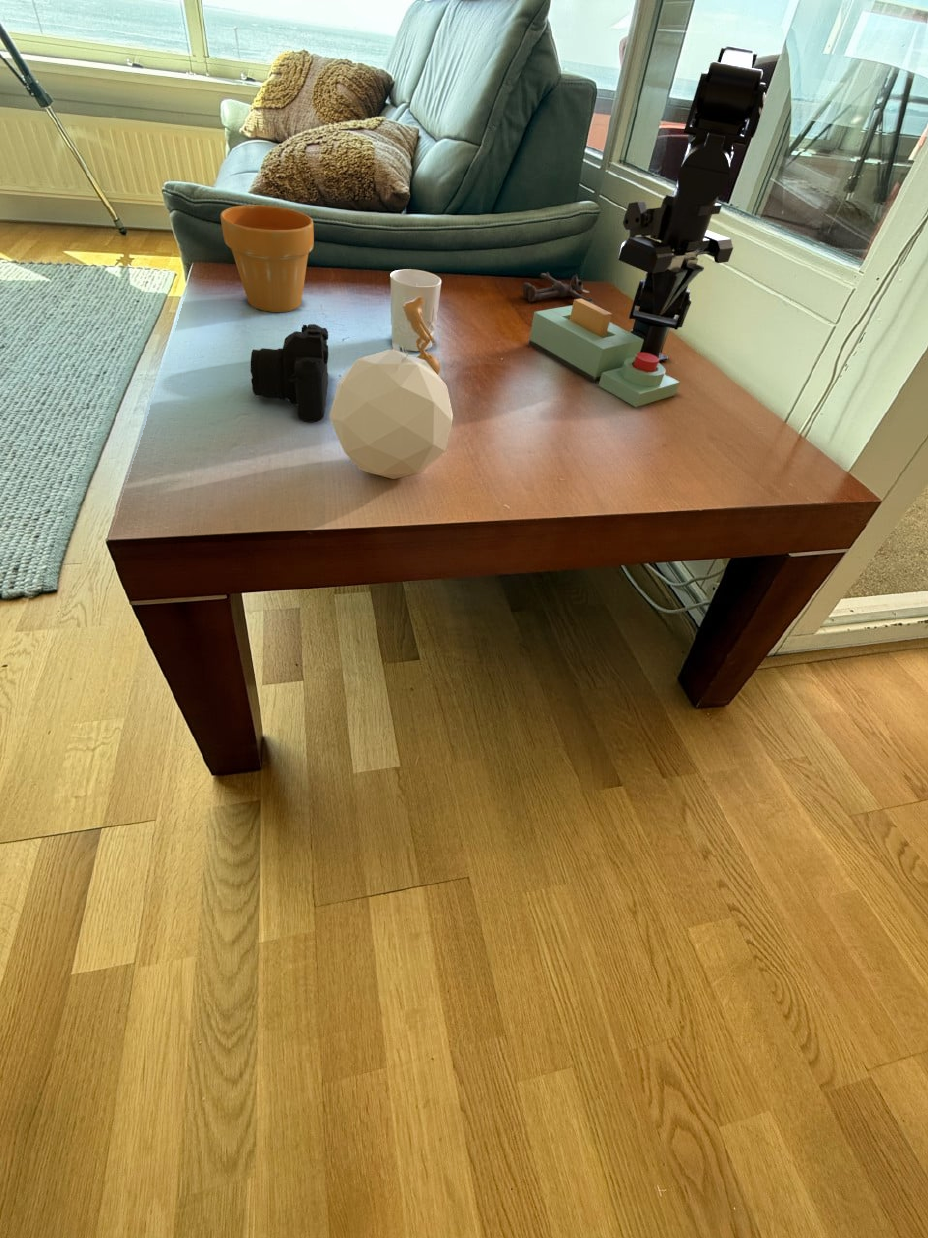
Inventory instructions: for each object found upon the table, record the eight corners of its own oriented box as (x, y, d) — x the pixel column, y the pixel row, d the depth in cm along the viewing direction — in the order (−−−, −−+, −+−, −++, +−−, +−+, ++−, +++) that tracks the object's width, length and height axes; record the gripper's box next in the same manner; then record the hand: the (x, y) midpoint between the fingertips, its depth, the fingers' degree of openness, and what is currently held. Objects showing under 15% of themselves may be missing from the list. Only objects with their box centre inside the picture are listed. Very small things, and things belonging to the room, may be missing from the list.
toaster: (568, 336, 115) (575, 304, 111) (633, 372, 107) (644, 339, 103) (528, 344, 110) (534, 311, 106) (593, 382, 102) (603, 348, 98)
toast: (570, 343, 110) (581, 297, 104) (599, 359, 106) (612, 313, 101) (563, 345, 109) (573, 299, 103) (592, 361, 105) (604, 314, 100)
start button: (642, 361, 101) (646, 350, 100) (660, 371, 99) (663, 360, 98) (628, 365, 99) (631, 354, 98) (645, 375, 97) (649, 363, 96)
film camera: (264, 369, 91) (257, 304, 85) (332, 375, 93) (330, 311, 86) (249, 421, 81) (239, 351, 74) (326, 426, 82) (323, 357, 76)
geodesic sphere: (322, 378, 78) (324, 309, 64) (434, 380, 82) (459, 315, 68) (332, 495, 77) (336, 450, 63) (446, 492, 80) (474, 448, 66)
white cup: (429, 356, 101) (434, 290, 94) (382, 347, 102) (384, 280, 95) (440, 339, 107) (446, 275, 100) (395, 330, 107) (398, 265, 100)
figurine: (449, 391, 93) (458, 306, 85) (412, 395, 91) (418, 308, 82) (425, 367, 98) (431, 284, 90) (389, 370, 96) (392, 286, 87)
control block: (638, 374, 106) (645, 350, 103) (675, 395, 102) (684, 370, 99) (598, 385, 101) (605, 360, 98) (635, 407, 97) (643, 382, 94)
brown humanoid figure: (503, 268, 129) (561, 258, 134) (501, 290, 132) (558, 279, 137) (554, 300, 118) (614, 288, 123) (551, 323, 122) (610, 310, 127)
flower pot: (308, 323, 105) (304, 235, 96) (221, 312, 104) (208, 222, 95) (323, 294, 115) (320, 212, 106) (243, 284, 114) (234, 199, 105)
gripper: (690, 174, 92) (654, 289, 103) (605, 176, 82) (576, 302, 93) (755, 194, 86) (710, 313, 97) (672, 199, 77) (632, 331, 88)
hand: (657, 314), depth 94 cm, fingers closed
